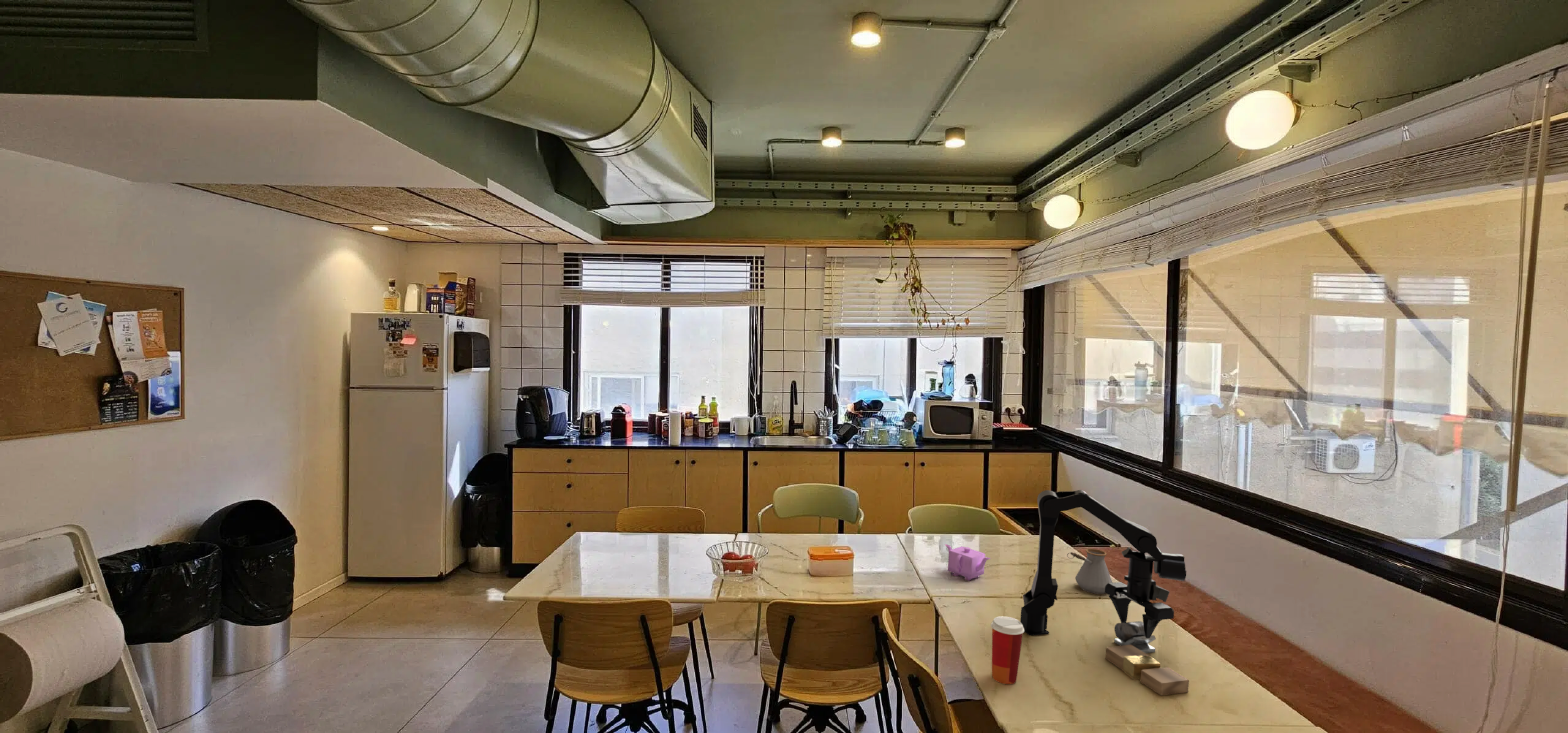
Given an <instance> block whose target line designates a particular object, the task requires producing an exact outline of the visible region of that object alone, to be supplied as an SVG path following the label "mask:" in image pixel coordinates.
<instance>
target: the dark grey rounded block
mask: <svg viewBox="0 0 1568 733" xmlns="http://www.w3.org/2000/svg"><path fill="white" fill-rule="evenodd" d="M1114 634H1115V636H1116V638H1118V639H1120V640H1122V641H1124V640H1129V639H1131V638H1133V637H1141V636H1145V632H1144V624H1143V621H1141V620H1140V621H1128V622H1127V621H1126V623H1121V622H1118V623H1116V624H1115V625H1114Z"/></svg>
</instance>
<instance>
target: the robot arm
mask: <svg viewBox="0 0 1568 733" xmlns="http://www.w3.org/2000/svg"><path fill="white" fill-rule="evenodd" d="M1036 500H1037V507H1038V508H1037V509H1038V510H1037V511H1038V515H1039V525H1040V526H1039V536H1038V537H1039V538H1038V539H1039V540H1038V549H1037V550H1038V553H1037V566H1036V567H1037V569H1036V572H1035V575H1034V577H1033V581H1032V584H1031V589H1029V590H1028V591H1026V593H1024V594H1022V597H1023V598H1022V599H1023V606H1021V608H1020V620H1019V622H1021V623H1022V625H1023V628H1024V633H1025V634H1026V635H1028V636H1030V637H1031V636H1042V635H1050V631H1048V630H1047V629H1048V617H1049V616H1048V614H1047V613H1048V609H1050V608H1052V607H1053V606H1054V605H1055V601H1058V597H1057V592H1058V589H1059V588H1058V587H1059V585H1058V581H1057V579H1056V578H1052V575H1053V574H1052V573H1053V572H1052V571H1053V556H1054V546H1055V542H1054V541H1055V532H1056V531H1055V528H1056V524H1057V523H1058V519H1059V516H1060V512H1066V511H1070V510H1074V509H1078V508H1082V509H1083V510H1085V511H1087V512H1088V513H1089V514H1091V515H1092V516H1094V517H1095V518H1097V519H1098V520H1100V521H1102V523H1105V524H1106V525H1107V526H1109V527H1110V528H1112V529H1113V530H1114V531H1116V532H1118V533H1119V534H1120V535H1121V536H1122V537H1123V538H1124V539H1125V540H1126V541H1127V542H1128V543H1129V544H1130V545H1131V546H1132V547H1133V548H1135V549H1136V550H1133V549H1132V548H1131V547H1130V546H1128V547H1127V548H1125V549H1124V550H1122V551H1121V554H1122V556H1123V557H1124V558H1125V559H1129V560H1128V573H1127V575H1124V579H1123V580H1125V581H1126V582H1127V583H1126V584H1125V583H1123V582H1121V581H1118V582H1117V581H1116V582H1112V583H1108V584H1107V585H1106V586H1105V593H1104V594H1107V595H1108V598H1109V599H1110V601H1111V603H1112V605H1113V606H1114V608H1115V611H1116V613H1117V615H1118V618H1119V621H1120V623H1126V622H1127V621H1128V616H1129V615H1128V613H1129V605H1130V604H1131V602H1134V603H1135V604H1138V605H1139V606H1141V607H1143V608H1144V612H1145V613H1142V622H1143V624H1144V632H1145V637H1146V638H1150V637H1151V636H1152V635H1153V633H1154V631H1155V630H1156V628H1157V626H1158V624H1159V623H1160V622H1161V621H1163V620H1173V619H1175V610H1174V609H1173V607H1171V606H1169V605H1168V604H1166V602H1167V600H1168V598H1169V595H1170V590H1168V589H1165V588H1163V587H1161V586H1159V585H1157V582H1156V580H1154V579H1153V572H1154V574H1157V575H1158V577H1159V579H1166V580H1172V581H1180V582H1184V581H1185V580H1186V578H1187V570H1186V562H1185V556H1184V555H1183V554H1181V553H1169V552H1162V551H1161V550H1160V548H1159V547H1158V540H1157V537H1155V535H1154V534H1153V532H1152V531H1151V530H1150V529H1148V528H1147V527H1145V526H1143V525H1142V524H1141V525H1140V524H1139V523H1137V522H1134V521H1131V520H1128V519H1126V518H1124V517H1123V516H1121V514H1120V515H1119V513H1117V512H1115V511H1113V510H1112V509H1111V508H1109V507H1107V506H1106V505H1104V504H1103V503H1101V502H1100V501H1098V499H1095V497H1092V496H1091V495H1090V494H1088V492H1086V491H1084V490H1082V489H1079V490H1067V491H1065V490H1063V491H1061V490H1060V491H1053V490H1049V489H1047V490H1042V491H1041V492H1040V493H1038V495H1037V499H1036ZM1157 600H1159V601H1162V602H1153V601H1157ZM1151 601H1152V602H1151ZM1163 602H1164V603H1163Z"/></svg>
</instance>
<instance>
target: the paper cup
mask: <svg viewBox="0 0 1568 733" xmlns="http://www.w3.org/2000/svg"><path fill="white" fill-rule="evenodd" d="M990 628H991V675H992V676H991V677H992V679H993V680H994V681H996V682H998V683H1000V684H1002V685H1014V684H1015V683H1016V682H1017V679H1018V671H1019V664H1020V660H1021V659H1020V657H1021V650H1022V643H1023V642H1022V641H1023V633H1025V632H1024V628H1023V625H1022V623H1021V622H1020V620H1019V619H1016V618H1015V617H1011V616H1006V615H1004V616H1002V615H1001V616H996V617H994V618H993V620H992V622H991V623H990Z"/></svg>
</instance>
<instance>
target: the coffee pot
mask: <svg viewBox="0 0 1568 733" xmlns="http://www.w3.org/2000/svg"><path fill="white" fill-rule="evenodd" d="M1085 553H1086V558H1085V557H1084V556H1082V555H1080V554H1077V553H1076V552H1068V553H1067V555H1066V557H1067V558H1068V559H1071V560H1072V559H1074V558H1076V559H1078V560H1081V561H1084V562H1083V563H1082V565H1081V567H1080V569H1079V570H1078V571H1077V573H1076V575H1075V578H1074V579H1075V582H1076V584H1077V585H1078V586H1079V587H1080V588H1081V590H1083V591H1084V592H1086V593H1090V594H1096V595H1104V594H1106V593H1105V586H1106V585H1107V584H1108V583H1113V580H1112V578H1111V574H1110V571H1109V569H1108V566H1107V564H1106V560H1105V557H1106V556H1107V552H1105V551H1104V550H1101V549H1097V548H1086V549H1085ZM1069 554H1070V555H1071V556H1072V557H1069Z"/></svg>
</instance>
